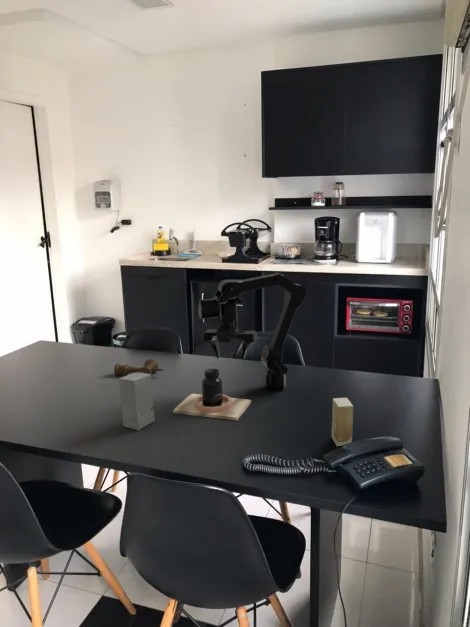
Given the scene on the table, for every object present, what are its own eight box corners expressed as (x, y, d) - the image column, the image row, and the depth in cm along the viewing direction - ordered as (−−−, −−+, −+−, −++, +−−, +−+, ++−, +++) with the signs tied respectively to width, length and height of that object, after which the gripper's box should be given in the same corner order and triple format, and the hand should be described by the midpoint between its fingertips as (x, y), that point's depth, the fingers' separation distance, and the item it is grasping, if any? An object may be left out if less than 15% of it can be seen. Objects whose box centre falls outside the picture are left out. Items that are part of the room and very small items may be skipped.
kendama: (120, 372, 208) (167, 372, 205) (111, 381, 199) (160, 381, 196) (119, 358, 207) (166, 358, 204) (110, 367, 198) (159, 366, 195)
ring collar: (236, 399, 173) (236, 395, 172) (224, 414, 161) (223, 409, 161) (202, 396, 177) (202, 392, 176) (188, 410, 165) (188, 405, 165)
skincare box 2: (331, 437, 146) (331, 397, 144) (345, 436, 147) (346, 396, 144) (337, 447, 140) (338, 406, 137) (352, 446, 140) (353, 405, 138)
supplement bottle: (220, 409, 165) (219, 374, 162) (200, 408, 166) (198, 373, 164) (224, 401, 172) (223, 367, 169) (205, 400, 173) (204, 366, 170)
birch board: (250, 402, 173) (250, 399, 172) (237, 420, 159) (237, 417, 159) (191, 396, 179) (191, 393, 179) (173, 412, 166) (173, 410, 165)
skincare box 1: (138, 431, 153) (134, 382, 149) (120, 426, 156) (117, 378, 153) (156, 421, 160) (153, 373, 156) (139, 416, 163) (136, 370, 160)
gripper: (195, 321, 171) (198, 364, 174) (248, 322, 166) (250, 367, 169) (206, 313, 181) (208, 355, 185) (257, 314, 176) (258, 357, 180)
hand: (230, 359), depth 179 cm, fingers open, 9 cm apart
